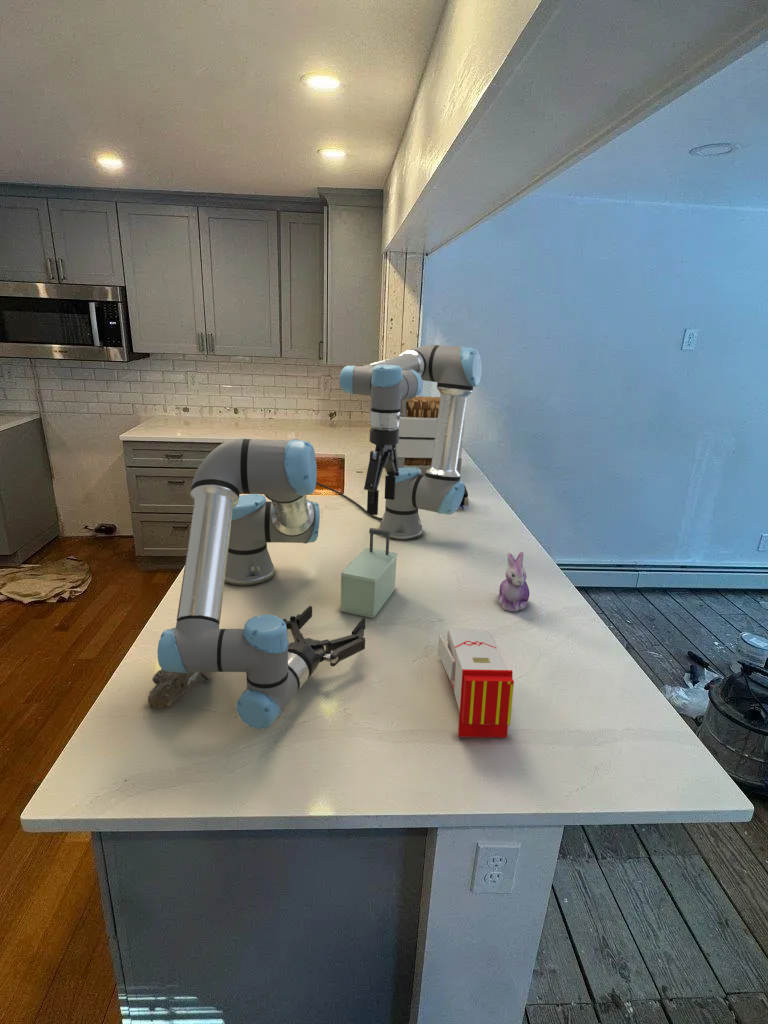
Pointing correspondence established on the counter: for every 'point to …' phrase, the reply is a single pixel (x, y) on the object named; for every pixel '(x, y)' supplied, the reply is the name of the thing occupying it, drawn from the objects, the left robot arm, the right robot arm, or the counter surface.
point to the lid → (371, 560)
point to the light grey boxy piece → (419, 432)
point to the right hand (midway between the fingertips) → (381, 506)
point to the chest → (367, 593)
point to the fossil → (171, 686)
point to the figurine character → (464, 499)
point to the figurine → (514, 585)
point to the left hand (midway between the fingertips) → (337, 617)
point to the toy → (478, 682)
